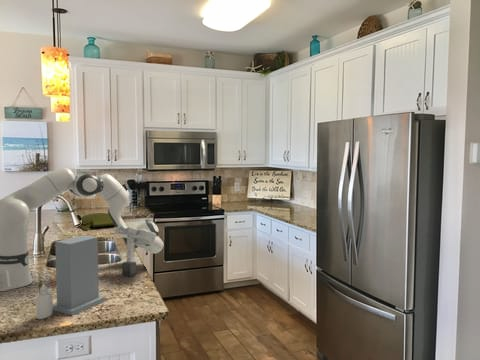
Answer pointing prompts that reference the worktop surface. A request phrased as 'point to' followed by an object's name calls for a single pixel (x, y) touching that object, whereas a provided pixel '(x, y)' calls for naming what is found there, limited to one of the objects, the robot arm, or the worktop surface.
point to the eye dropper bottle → (44, 303)
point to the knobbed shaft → (129, 257)
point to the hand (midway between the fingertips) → (124, 228)
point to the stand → (77, 274)
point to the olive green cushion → (96, 220)
